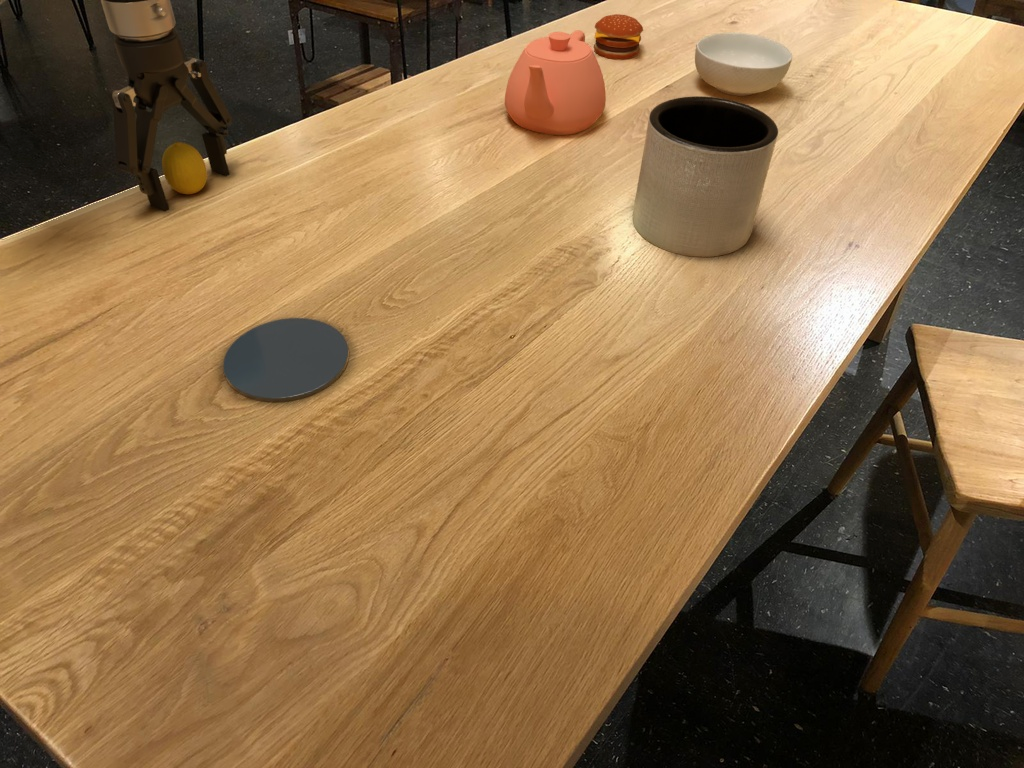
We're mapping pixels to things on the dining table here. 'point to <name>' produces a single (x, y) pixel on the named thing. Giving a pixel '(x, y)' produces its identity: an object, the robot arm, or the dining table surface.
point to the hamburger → (617, 36)
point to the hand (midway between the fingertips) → (192, 194)
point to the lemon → (184, 168)
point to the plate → (286, 360)
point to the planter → (702, 175)
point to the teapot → (556, 85)
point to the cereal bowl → (741, 62)
